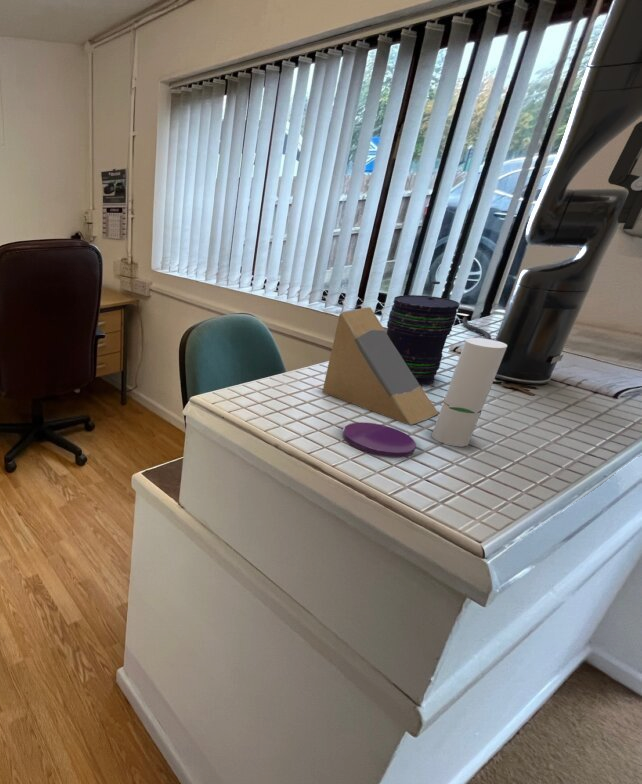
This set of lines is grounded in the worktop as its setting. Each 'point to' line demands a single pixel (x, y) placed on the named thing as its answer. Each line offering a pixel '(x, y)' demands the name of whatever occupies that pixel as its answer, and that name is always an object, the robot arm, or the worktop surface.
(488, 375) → the tube
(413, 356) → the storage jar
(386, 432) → the purple disc
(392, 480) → the worktop surface
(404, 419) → the sandwich container
